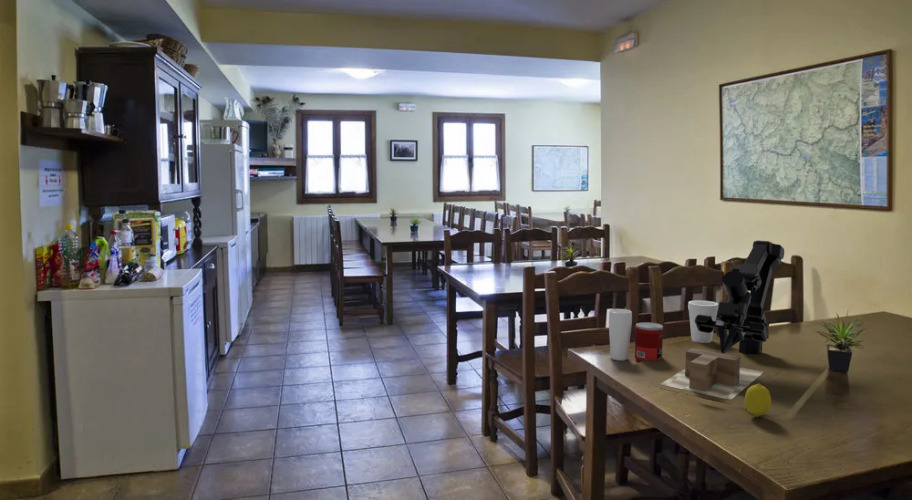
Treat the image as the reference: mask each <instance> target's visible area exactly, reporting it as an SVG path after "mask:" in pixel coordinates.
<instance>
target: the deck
mask: <svg viewBox="0 0 912 500" xmlns="http://www.w3.org/2000/svg"><path fill="white" fill-rule="evenodd" d="M763 373H765V372H764V371H761V370H757V369H749V368H745V367H740V375H739V383H738V384H737V385H736V386H730V385H725V384H720V383H716V384H714V385H713V386H712V387H710V388H709V389H708V390H706V391H700V390H695V389H691V388H689V382H690V377H686V376H685V368H684V369H682V370H680V371H679V372H677V373H676V374H674V375H672V376H671V377H669V378H667V379H666V380H664V381H662V382H661V383H660V385H662V386H666V387H671V388H675V389H679V390H680V389H681V390H684V391H688V392H693V393H697V394H703V395H707V396H712V397H715V398H720V399H725V400H728V401H731V400H733V399H734V398H735V397H736V396H738V395H739V394H740V393H741V392H742V391H744V389H746V388H747V387H749V386H750V384H752V383H753V382H754V381H756V379H758V378H759V377H760V376H762V375H763ZM659 389H660V390H662V388H659ZM663 390H665V391H667V389H665V388H663ZM668 391H671V390H669V389H668ZM672 392H674V393H675V390H674V391H673V390H672ZM676 393H679V394H680V392H679V391H676ZM681 394H683V395H684V393H682V392H681ZM685 395H687V396H689V394H687V393H685ZM690 396H692V397H693V395H690ZM694 397H696V398H698V396H696V395H694ZM699 398H700V399H702V397H701V396H699ZM703 399H705V400H709V401H711V399H708V398H706V397H705V398H704V397H703ZM712 401H713V402H715V400H714V399H712ZM716 402H719V403H720V401H718V400H716ZM721 403H723V404H724V402H722V401H721ZM725 404H726V405H727V404H728V405H729V403H726V402H725Z"/></svg>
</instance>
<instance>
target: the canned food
mask: <svg viewBox="0 0 912 500" xmlns="http://www.w3.org/2000/svg"><path fill="white" fill-rule="evenodd" d="M634 338H635V339H634V358H635V361H637V362H638V363H641V362H644V361H659V360H662V359H663V347H664V346H663V343H664V326H663V325H662V324H660V323H657V322H638V323H637V322H636V324H635V335H634Z"/></svg>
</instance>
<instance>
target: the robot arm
mask: <svg viewBox="0 0 912 500" xmlns="http://www.w3.org/2000/svg"><path fill="white" fill-rule="evenodd" d="M784 257H785V247H783V246H782V245H781V244H778V243H774V242H772V241H769V240H758V239H757V240H754V241H753V244H752V248H751V250H750V252H749V254H748V256H747V258H746V260H745V261H744V262H743V264H742V265H740V266H737V267H736V268H735V267H734V268H732V270H731V271H727V272H726V273H724V274H723V275H722V277H721V281H722V282H721V283H722V285H723V288H724V290H725V294H726V295H727V296H728V299H727V301H726V302H725V301H723V302H722V301H719V303H718V311H717V314H719V315H718V319H719V320H718V319H716V321H713V320H712V318H711V316H708V315H701V314H699V315H697V316H696V318H695V324H696V326H697V328H698V331H700V332H705V333H711V332H713V333H714V331H715V333H716V337H718V338H719V344H720V345H719V346H720V347H719V348H720V354H726V353H727V352H728V351H729V350H730V349H731V348H732V347H734V346H735V345H736V344H738V343H739V345H738V353H742V354H744V355H759V354H762V353H763V343H765V342H767V339H769V336H770V334H769V333H770V332H769V331H770V330H769V327H768V323H767V318H766V315H765V313H764V310H763V309H764V305H765V300H766V297H767V293H768V289H769V287H770V282H771V278H772V275H773V271H774V270H775V269H777V268H778V267H779V266H780V265H781V261H782V260H784ZM713 329H714V331H713ZM727 332H728V333H727Z"/></svg>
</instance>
